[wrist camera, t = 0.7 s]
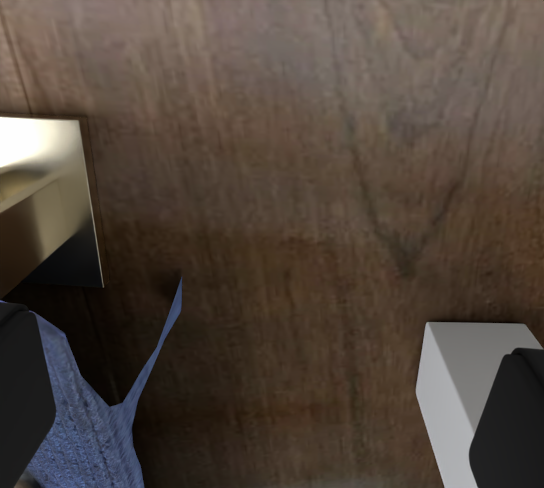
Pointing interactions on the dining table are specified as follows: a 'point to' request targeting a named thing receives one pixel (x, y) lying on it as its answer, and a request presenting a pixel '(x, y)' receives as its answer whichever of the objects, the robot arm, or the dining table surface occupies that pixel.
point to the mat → (87, 423)
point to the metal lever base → (49, 204)
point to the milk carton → (461, 386)
